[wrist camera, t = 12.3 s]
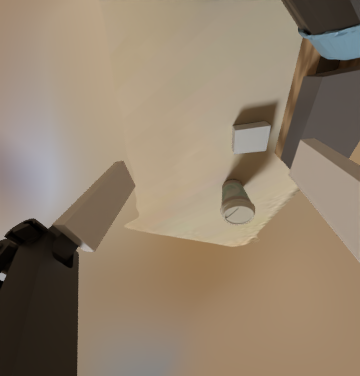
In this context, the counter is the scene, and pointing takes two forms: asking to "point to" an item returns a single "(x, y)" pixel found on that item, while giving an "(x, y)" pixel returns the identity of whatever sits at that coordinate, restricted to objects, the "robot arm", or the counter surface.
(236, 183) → the coffee cup
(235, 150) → the small white cube
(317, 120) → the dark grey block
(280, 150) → the brown long open box
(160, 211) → the counter surface
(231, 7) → the counter surface
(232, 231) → the counter surface
